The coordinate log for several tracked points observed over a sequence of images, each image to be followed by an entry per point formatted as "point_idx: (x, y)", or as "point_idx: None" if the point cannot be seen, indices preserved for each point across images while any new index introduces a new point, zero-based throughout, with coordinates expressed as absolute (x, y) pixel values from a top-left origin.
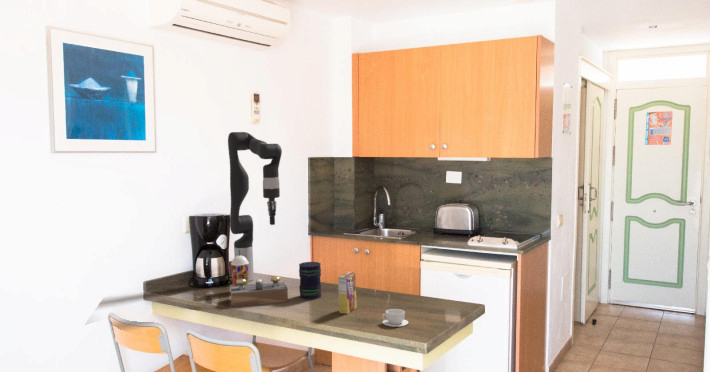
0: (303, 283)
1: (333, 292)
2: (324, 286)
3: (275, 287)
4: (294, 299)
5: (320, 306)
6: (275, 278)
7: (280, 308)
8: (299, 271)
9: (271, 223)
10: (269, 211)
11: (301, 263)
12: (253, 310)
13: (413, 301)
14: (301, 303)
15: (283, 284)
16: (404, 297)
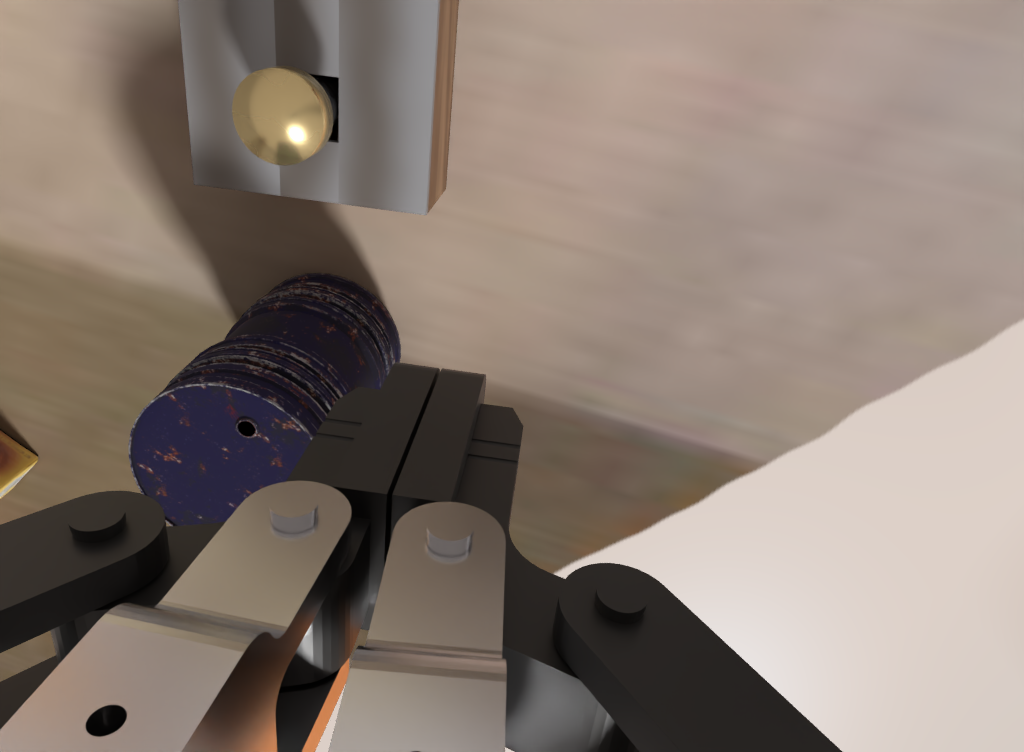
0: (235, 331)
1: None
2: (553, 497)
3: None
4: (290, 223)
5: (82, 328)
6: (233, 107)
7: (77, 62)
8: (237, 354)
9: (349, 401)
10: (125, 639)
11: (295, 422)
12: None
13: None
14: (176, 239)
15: (333, 186)
16: None
